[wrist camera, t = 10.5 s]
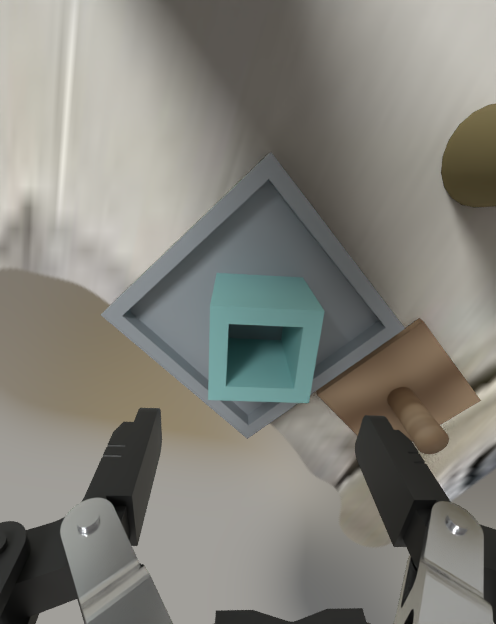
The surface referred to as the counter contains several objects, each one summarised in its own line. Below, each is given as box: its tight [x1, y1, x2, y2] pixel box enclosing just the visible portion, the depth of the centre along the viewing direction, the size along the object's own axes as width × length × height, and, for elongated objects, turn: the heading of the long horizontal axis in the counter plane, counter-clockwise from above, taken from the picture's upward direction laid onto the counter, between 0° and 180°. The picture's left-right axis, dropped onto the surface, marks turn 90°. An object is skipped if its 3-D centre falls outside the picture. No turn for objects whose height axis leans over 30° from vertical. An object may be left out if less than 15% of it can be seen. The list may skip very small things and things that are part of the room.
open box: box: [208, 273, 324, 403], centre depth 21 cm, size 8×6×6 cm
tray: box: [101, 152, 405, 439], centre depth 23 cm, size 15×15×2 cm
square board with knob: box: [316, 318, 481, 454], centre depth 25 cm, size 10×10×6 cm
